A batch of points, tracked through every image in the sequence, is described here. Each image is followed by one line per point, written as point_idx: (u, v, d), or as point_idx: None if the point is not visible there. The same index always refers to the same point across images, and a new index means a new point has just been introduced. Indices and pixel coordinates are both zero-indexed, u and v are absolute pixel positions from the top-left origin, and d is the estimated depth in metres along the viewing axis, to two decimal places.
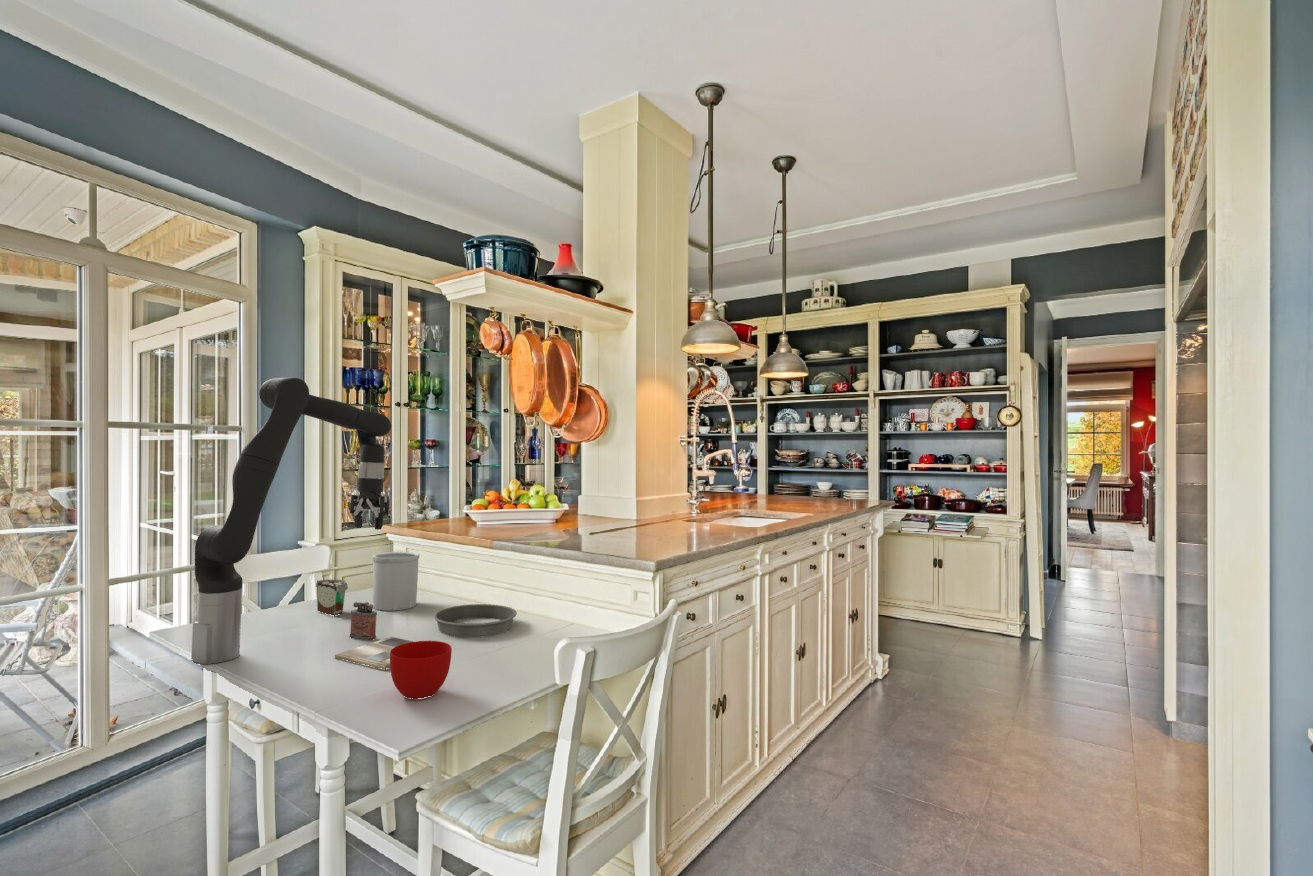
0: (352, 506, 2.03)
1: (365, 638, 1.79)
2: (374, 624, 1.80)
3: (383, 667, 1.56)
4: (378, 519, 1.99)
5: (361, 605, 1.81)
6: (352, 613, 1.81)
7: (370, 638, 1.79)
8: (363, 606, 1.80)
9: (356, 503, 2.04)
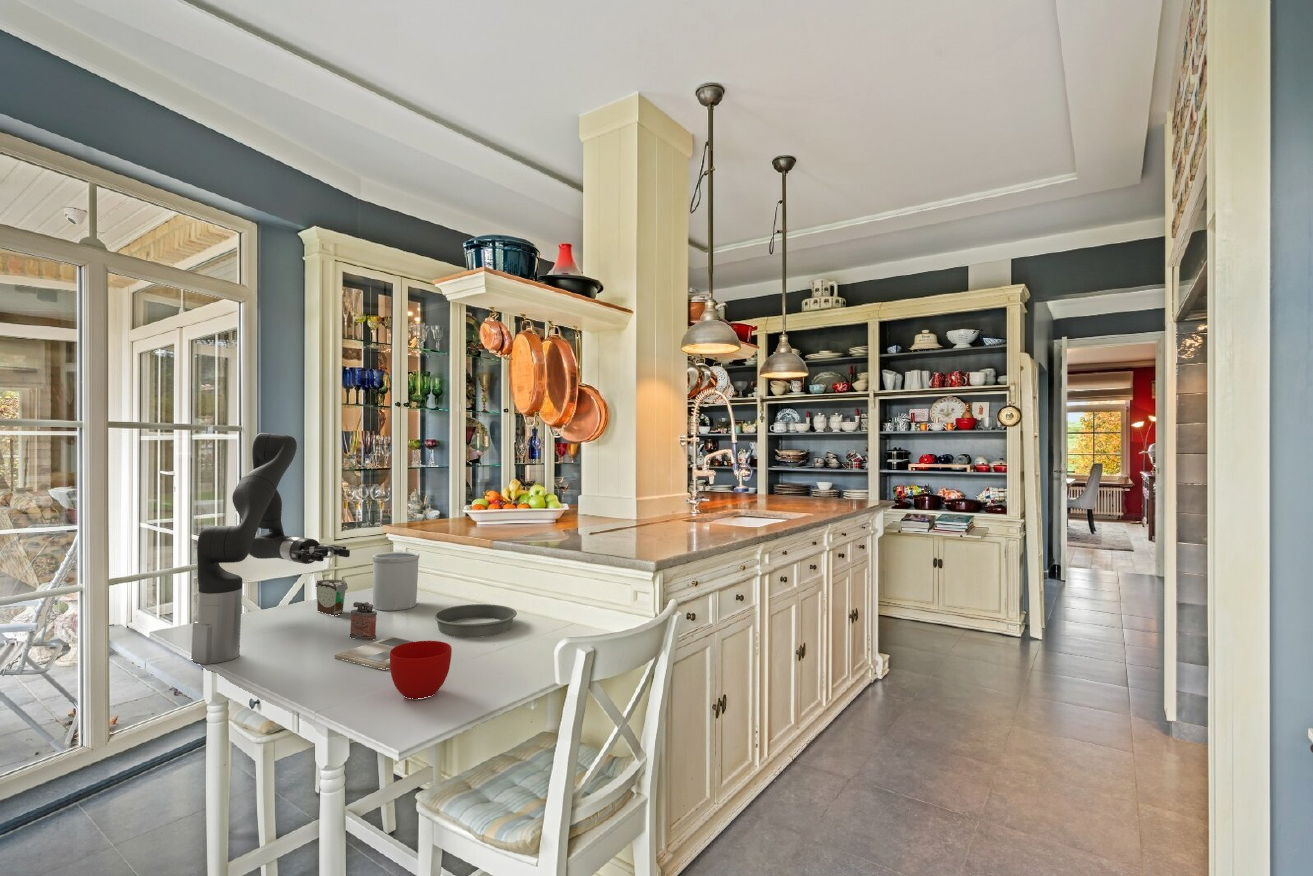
0: (301, 552, 1.84)
1: (365, 638, 1.79)
2: (374, 624, 1.80)
3: (383, 667, 1.56)
4: None
5: (361, 605, 1.81)
6: (352, 613, 1.81)
7: (370, 638, 1.79)
8: (363, 606, 1.80)
9: None
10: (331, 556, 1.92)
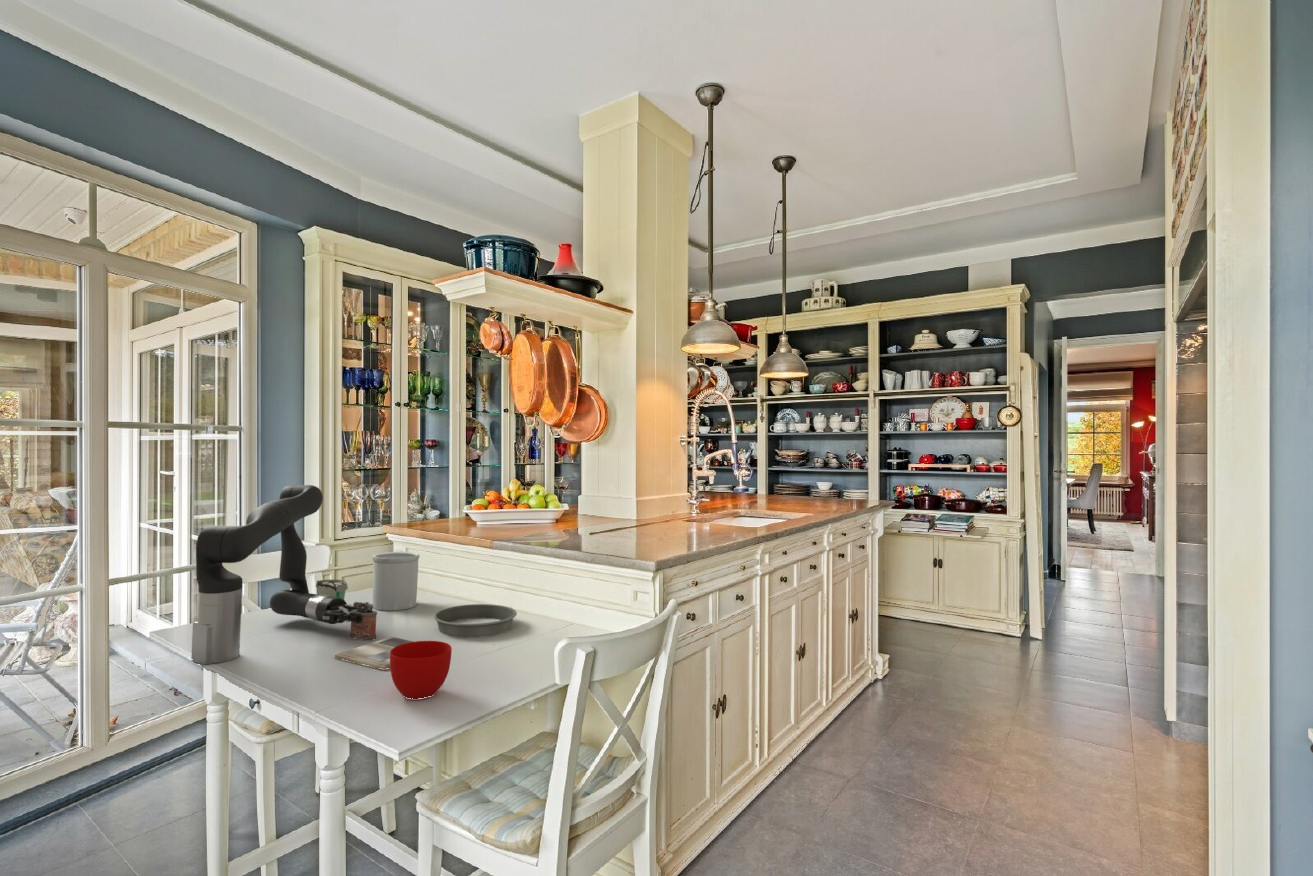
0: (336, 613, 1.79)
1: (365, 638, 1.79)
2: (374, 624, 1.80)
3: (383, 667, 1.56)
4: None
5: (361, 605, 1.81)
6: None
7: (370, 638, 1.79)
8: (363, 606, 1.80)
9: None
10: None
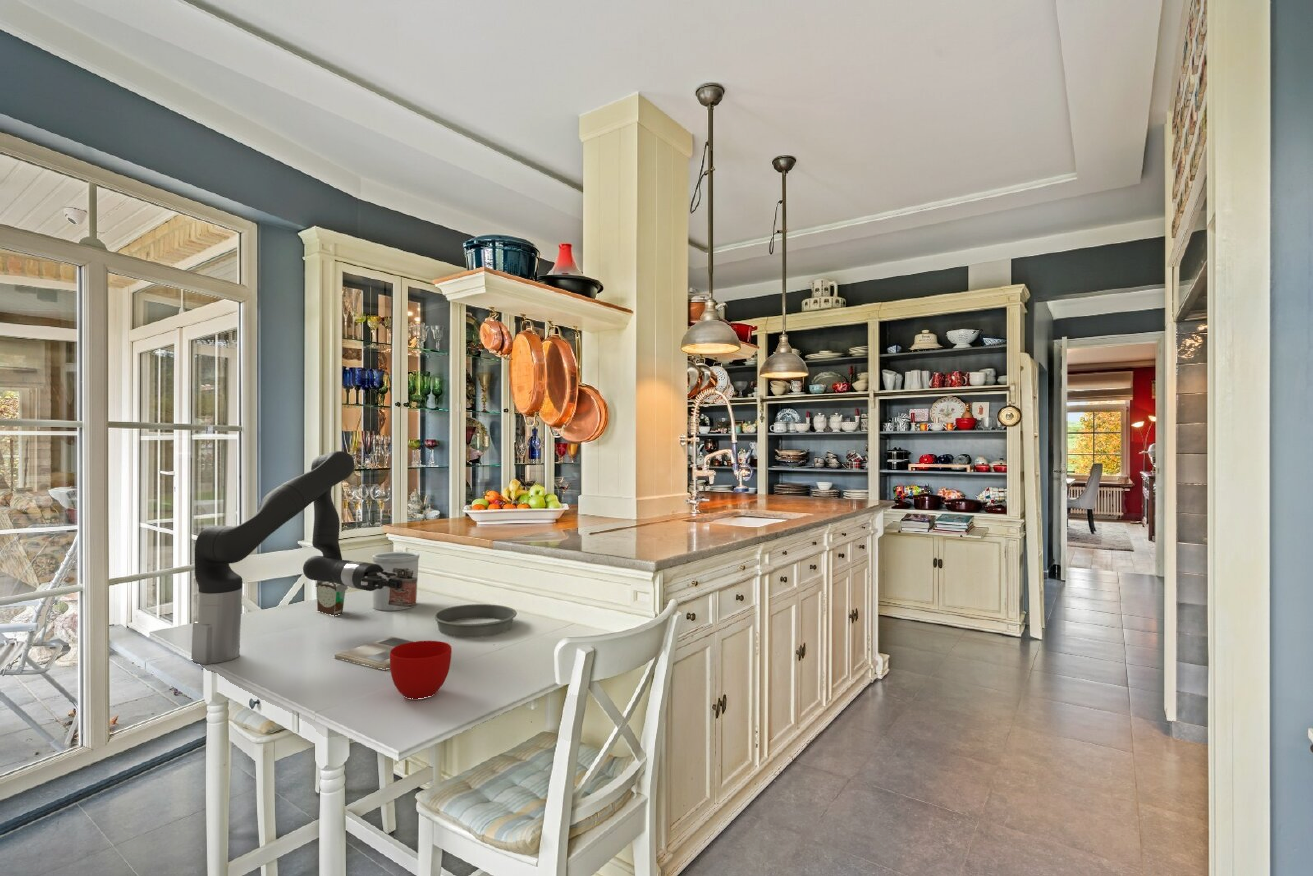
0: (375, 579, 1.72)
1: (405, 605, 1.72)
2: (414, 590, 1.73)
3: (383, 667, 1.56)
4: None
5: (401, 571, 1.73)
6: None
7: (410, 605, 1.72)
8: (403, 572, 1.73)
9: None
10: None
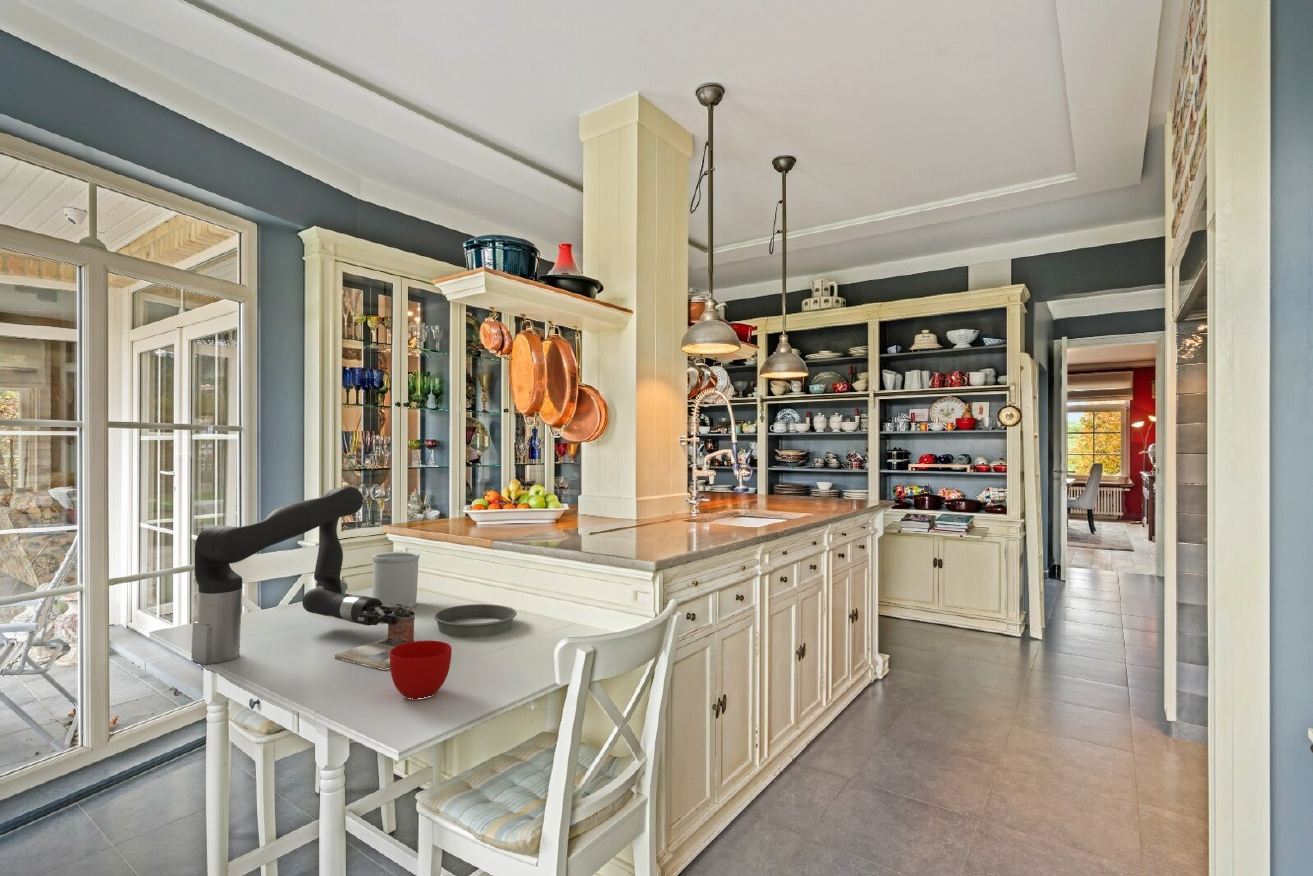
0: (371, 614, 1.71)
1: (403, 643, 1.71)
2: (412, 629, 1.72)
3: (383, 667, 1.56)
4: None
5: (398, 609, 1.73)
6: None
7: None
8: (401, 610, 1.72)
9: None
10: None
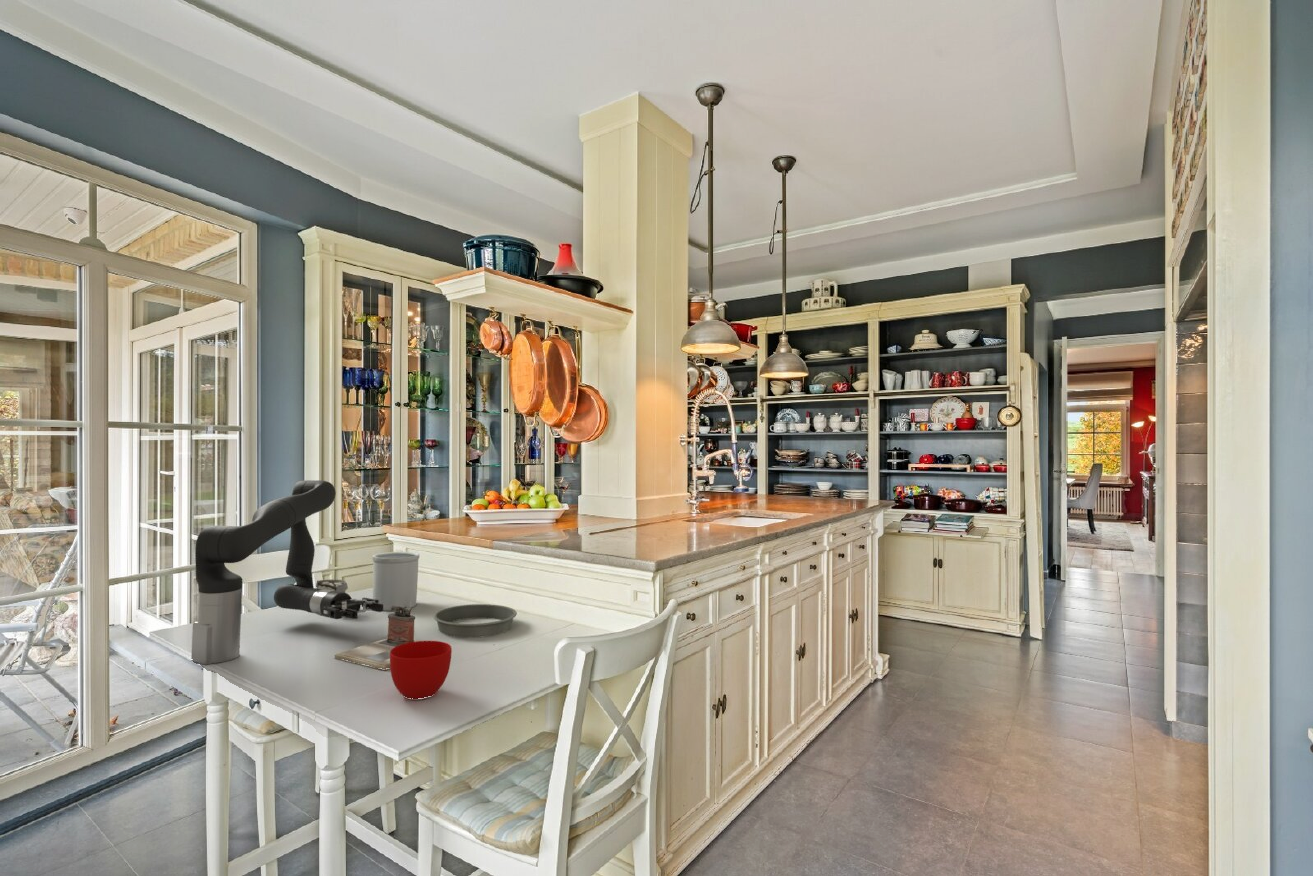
0: (334, 608, 1.76)
1: (403, 643, 1.71)
2: (412, 629, 1.72)
3: (383, 667, 1.56)
4: None
5: (399, 609, 1.73)
6: (390, 617, 1.73)
7: None
8: (401, 610, 1.72)
9: None
10: (363, 611, 1.84)
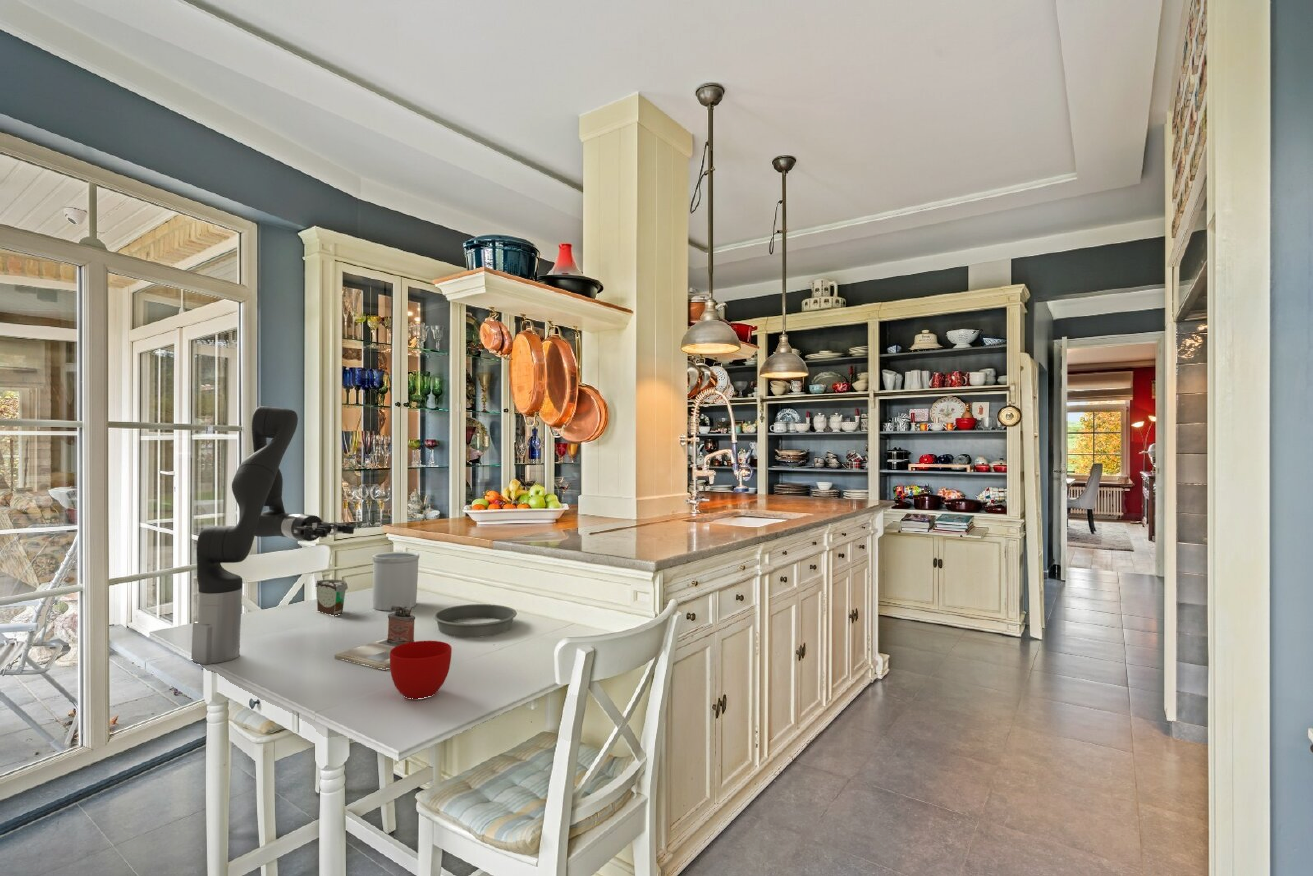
0: (304, 527, 1.78)
1: (403, 643, 1.71)
2: (412, 629, 1.72)
3: (383, 667, 1.56)
4: None
5: (399, 609, 1.73)
6: (390, 617, 1.73)
7: None
8: (401, 610, 1.72)
9: None
10: (334, 533, 1.86)
